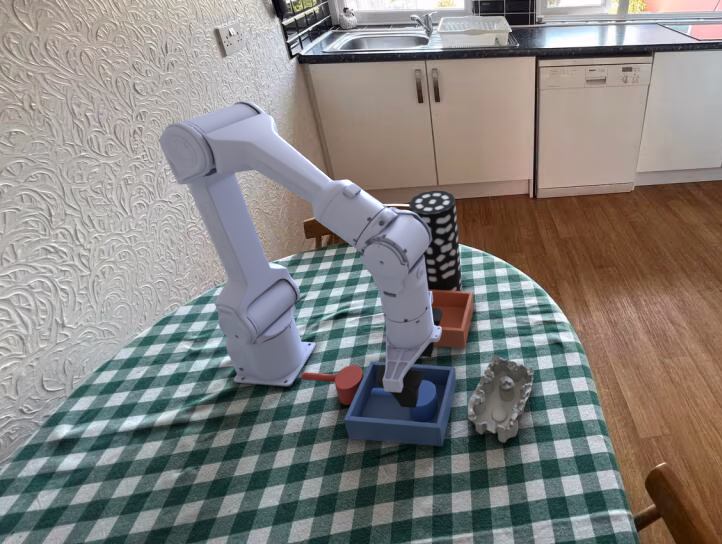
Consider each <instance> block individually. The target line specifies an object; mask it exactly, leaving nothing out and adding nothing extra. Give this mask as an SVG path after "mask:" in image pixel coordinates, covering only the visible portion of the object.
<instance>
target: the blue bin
mask: <svg viewBox="0 0 722 544" xmlns="http://www.w3.org/2000/svg"><path fill="white" fill-rule="evenodd" d="M381 365H386V361H374V360H371V361H370V362H369V364H368V366H367V369H366V371H365V373H364V374H363V375H364V377H363V379H362V381H361V384H360V386H359V388H358V390H357V392H356V395H355V397H354V399H353V401H352V403H351V405H349V408H348V410H347V412H346V415H345V417H344V418H343V422H344V425H345V429H346V432H347V436H348V439H351V440H353V439H354V440H363V441H365V440H366V441H376V442H388V443H397V444H398V443H399V444H408V445H409V444H410V445H421V446H432V447H443V445H444V442H445V437H446V434H447V429H448V424H449V419H450V415H451V411H452V407H453V403H454V398H455V395H456V394H455V393H456V389H457V375H456V367H455V366H443V365H432V364H431V365H429V364H418V363H414V364H413V365H412V366H411V369H412V370H420V371H425V373H424V376H423V379H422V381H423V380H426V381H430V382H432V383H433V384H434V386H435V388H436V395H437V402H438V410H437V413H436V415H435V416H434V417H433V418H432V419H431V420H429V421H427V422H416V421H414V420H413V419H412V417H411V415H410V409H409V407H401V406H400V404H399V403H398V401H397V400H396V398H394V397H381V396H373V395H372V394H371V391H372V389H373V388H381V387H379V386H378V385H377V382H376V376H377V373H378V371H379V368H380V366H381ZM382 389H384V388H382Z"/></svg>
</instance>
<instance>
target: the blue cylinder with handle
mask: <svg viewBox="0 0 722 544" xmlns="http://www.w3.org/2000/svg"><path fill="white" fill-rule="evenodd" d="M371 394H372V395H373V396H381V397H394V396H393V395H392V394H391V393H390V392H388V391H384V389H382V388H373V389H372V391H371ZM394 398H395V397H394ZM409 409H410V415H411V417H412V419H413V420H414V421H416V422H427V421H429V420H431V419H432V418H433V417H434V416H435V415H436V413H437V410H438V402H437V395H436V388H435V386H434V384H433V383H432V382H430V381H426V380H423V381H422V382H421V385H420V387H419V395H418V401H417V405H416V407H415V408H410V407H409Z"/></svg>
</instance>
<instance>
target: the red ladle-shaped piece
mask: <svg viewBox="0 0 722 544" xmlns="http://www.w3.org/2000/svg"><path fill="white" fill-rule="evenodd" d="M364 375H365V374H364V371H363V369H362V368H361V367H360V366H359V365H357V364H350V365H347V366H345V367H343V368H342V369H340V370H339V371H338V372H337V374H333V373H320V372H308V371H306V372H303V373H302V374H301V375H300V378H301V379H302V380H304V381H315V382H327V383H328V382H329V383H334V387H335V389H336V393H337V396H338V397H337V398H338V400H339V402H340V403H341V404H343V405H344V406H351V403H352V401H353V399H354V397H355V395H356V392H357V390H358V388H359V386H360V384H361V381H362V379H363V377H364Z"/></svg>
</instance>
